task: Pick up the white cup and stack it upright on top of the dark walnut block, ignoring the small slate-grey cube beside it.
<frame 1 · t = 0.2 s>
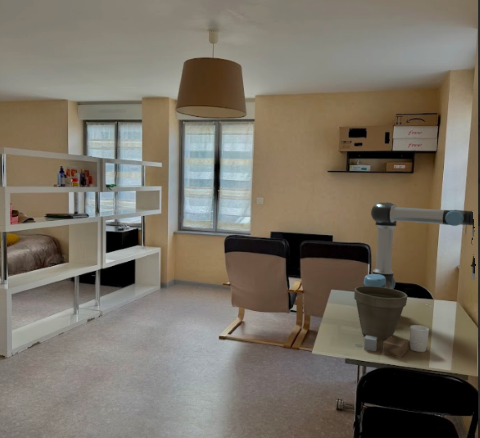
hand: (476, 277, 227), 28 cm above the table, fingers open, 13 cm apart
walnut block: (394, 352, 192), on the table
grey cube: (370, 348, 195), on the table
white cup: (417, 349, 197), on the table
plant pot: (377, 334, 216), on the table
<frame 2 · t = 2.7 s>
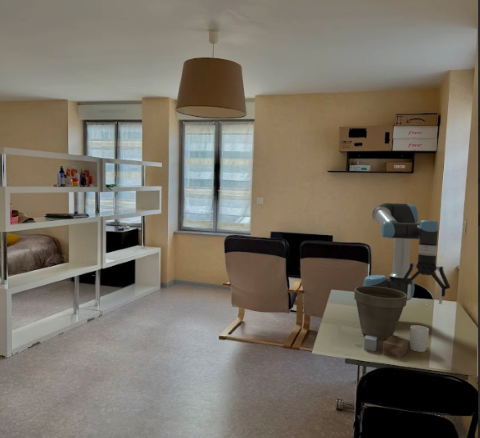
hand: (424, 301, 198), 22 cm above the table, fingers open, 13 cm apart
nothing on the table moved.
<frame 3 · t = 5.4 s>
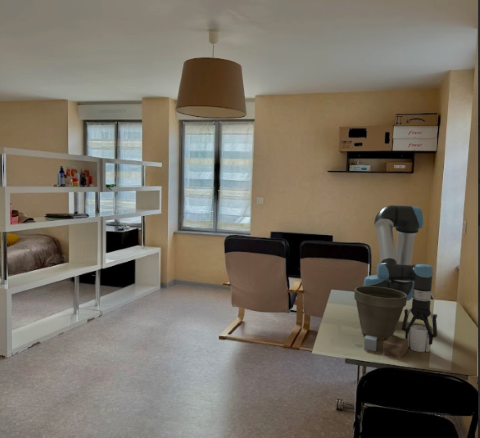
hand: (417, 348, 197), 0 cm above the table, fingers closed on white cup, 8 cm apart
white cup: (417, 349, 197), on the table, touching gripper
everything else where it was.
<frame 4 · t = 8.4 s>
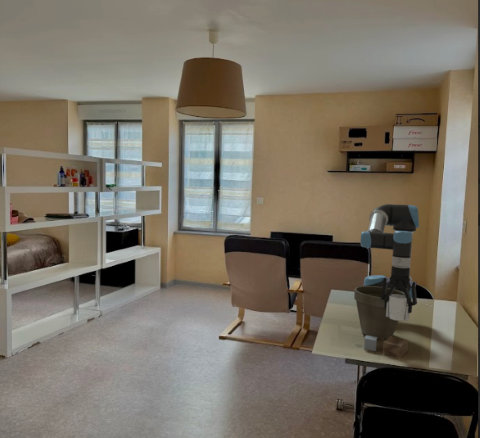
hand: (397, 318, 191), 15 cm above the table, fingers closed on white cup, 8 cm apart
white cup: (397, 319, 191), point 15 cm above the table, touching gripper
everything else where it was.
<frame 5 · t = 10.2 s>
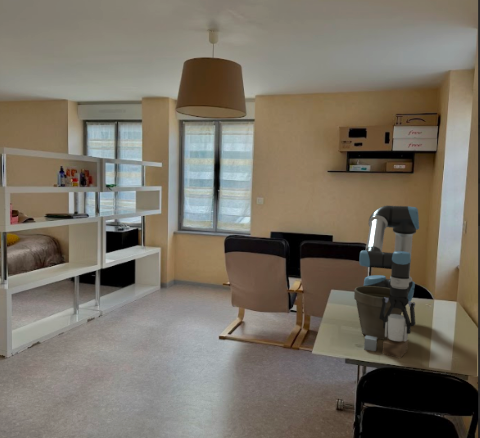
hand: (395, 338, 192), 6 cm above the table, fingers closed on white cup, 8 cm apart
white cup: (395, 339, 192), point 6 cm above the table, touching gripper
everything else where it was.
when the fingers open (6 cm above the table, at t = 11.6 s): white cup stays where it is, resting on walnut block.
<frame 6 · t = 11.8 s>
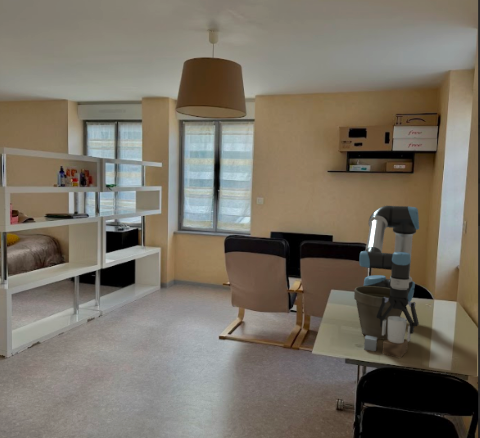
hand: (395, 337, 192), 7 cm above the table, fingers open, 10 cm apart
white cup: (395, 341, 192), point 5 cm above the table, touching walnut block
everything else where it was.
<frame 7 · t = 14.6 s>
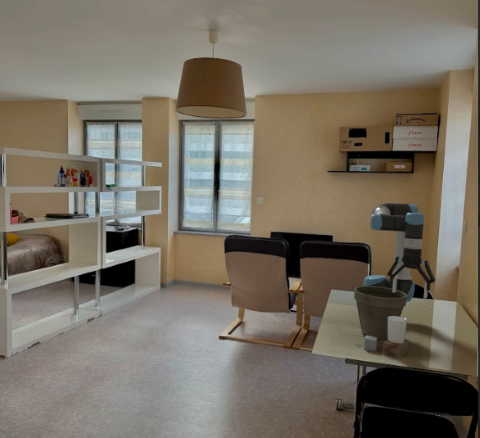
hand: (409, 294, 195), 25 cm above the table, fingers open, 13 cm apart
nothing on the table moved.
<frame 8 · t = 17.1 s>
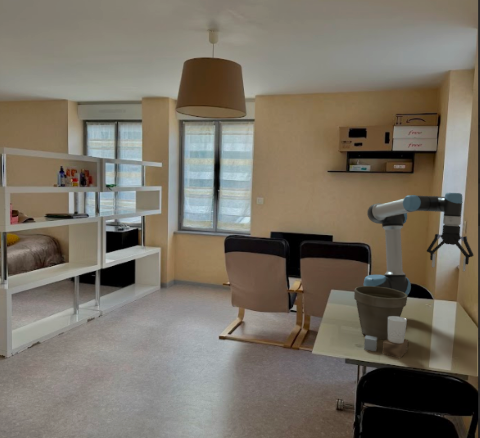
hand: (448, 269, 210), 35 cm above the table, fingers open, 13 cm apart
nothing on the table moved.
at the end: white cup inside the target area on the walnut block (0.1 cm from its centre), point 4.8 cm above the walnut block's base; white cup tilted 0°; the gripper is holding nothing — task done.
